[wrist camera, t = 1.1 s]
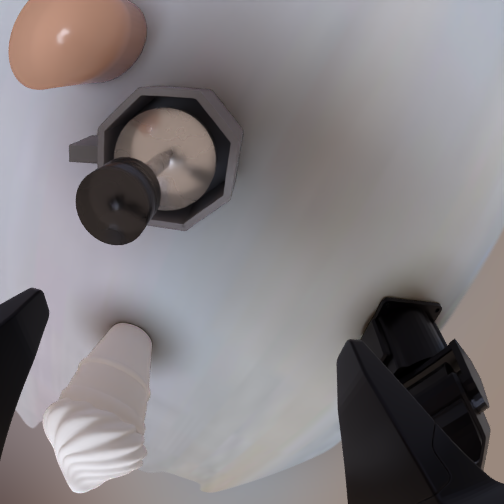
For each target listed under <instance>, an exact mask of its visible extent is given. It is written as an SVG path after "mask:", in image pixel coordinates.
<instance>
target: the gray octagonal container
mask: <svg viewBox="0 0 504 504" xmlns="http://www.w3.org/2000/svg"><path fill="white" fill-rule="evenodd" d="M160 107H174V108H179V109H182V110H185V111H187V112H190V113H191V114H193V115H195V116H196V117H197V118H199V119H200V120H201V121H202V122H203V123H204V124H205V125H206V127H207V128H208V130H209V131H210V133H211V135H212V137H213V139H214V142H215V145H216V149H217V167H216V171H215V174H214V177H213V179H212V181H211V183H210V185H209V187H208V189H207V190H206V191H205V193H204V194H203V195H202V196H201V197H200V198H199V199H198V200H196V201H195V202H194V203H192V204H190V205H188V206H186V207H184V208H181V209H177V210H168V211H165V210H157V212H156V213H155V215H154V216H153V218H152V219H151V220H150V222H149V223H148V224H147V225H148V226H155V227H161V228H168V229H175V230H181V231H185V230H188V229H189V228H191V227H192V226H193V225H195V224H196V223H198V222H199V221H201V220H202V219H203V218H205V217H206V216H208V215H209V214H211V213H212V212H213V211H215V210H216V209H218V208H219V207H221V206H222V205H224V204H225V203H226V202H228V201H229V200H230V199H231V196H232V192H233V188H234V184H235V180H236V174H237V168H238V162H239V155H240V149H241V143H242V137H243V129H242V128H241V126H240V125H239V124H238V122H237V121H236V120H235V119H234V117H233V116H232V115H231V113H230V112H229V111H228V110H227V108H226V107H225V106H224V105H223V103H222V102H221V101H220V99H219V98H218V97H217V96H216V94H215V93H214V92H213V91H212V90H208V89H197V88H185V87H170V86H154V87H140V88H138V89H137V90H136V91H135V92H134V93H133V94H132V95H130V96H129V97H128V98H127V99H126V100H125V101H124V102H123V103H122V104H121V105H120V106H119V107H118V108H117V109H116V110H115V111H114V112H113V113H112V114H111V115H110V116H109V117H108V118H107V119H106V120H105V121H104V122H103V123H102V125H101V126H100V127H99V128H98V136H89V137H87V138H85V139H82V140H80V141H78V142H75V143H73V144H71V145H69V162H82V163H97V164H98V168H100V167H101V166H103V165H104V164H106V163H108V162H109V161H111V160H113V159H114V151H115V146H116V142H117V139H118V137H119V135H120V133H121V131H122V130H123V128H124V127H125V126H126V125H127V124H128V122H129V121H131V120H132V119H133V118H134V117H136V116H137V115H139V114H141V113H143V112H145V111H148V110H151V109H155V108H160Z"/></svg>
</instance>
